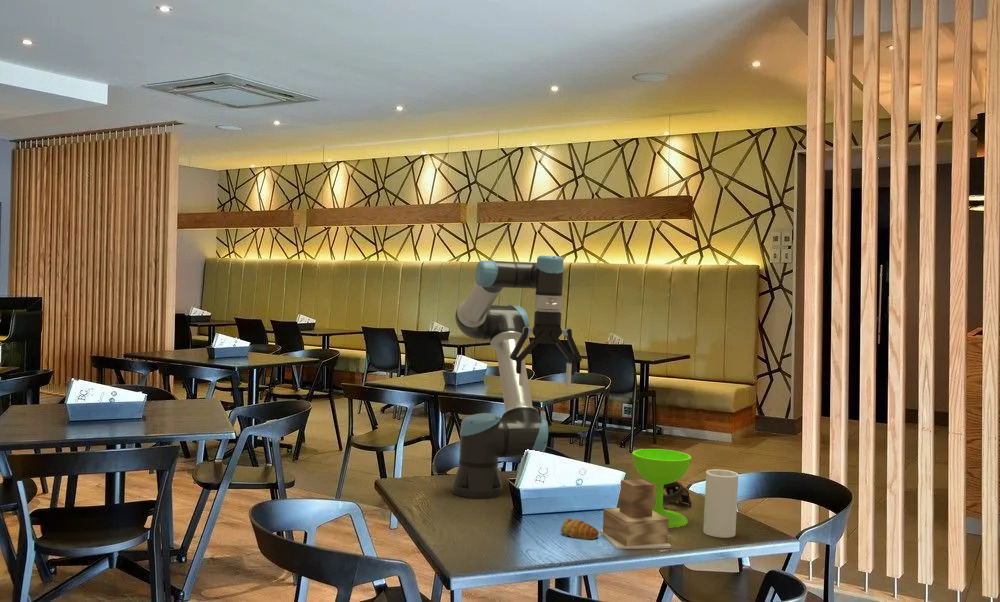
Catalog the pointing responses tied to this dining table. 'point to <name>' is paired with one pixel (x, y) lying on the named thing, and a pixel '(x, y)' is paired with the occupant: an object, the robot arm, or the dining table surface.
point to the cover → (635, 516)
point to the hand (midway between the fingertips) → (544, 386)
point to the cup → (720, 503)
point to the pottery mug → (676, 493)
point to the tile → (620, 546)
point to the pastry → (579, 529)
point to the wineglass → (662, 475)
